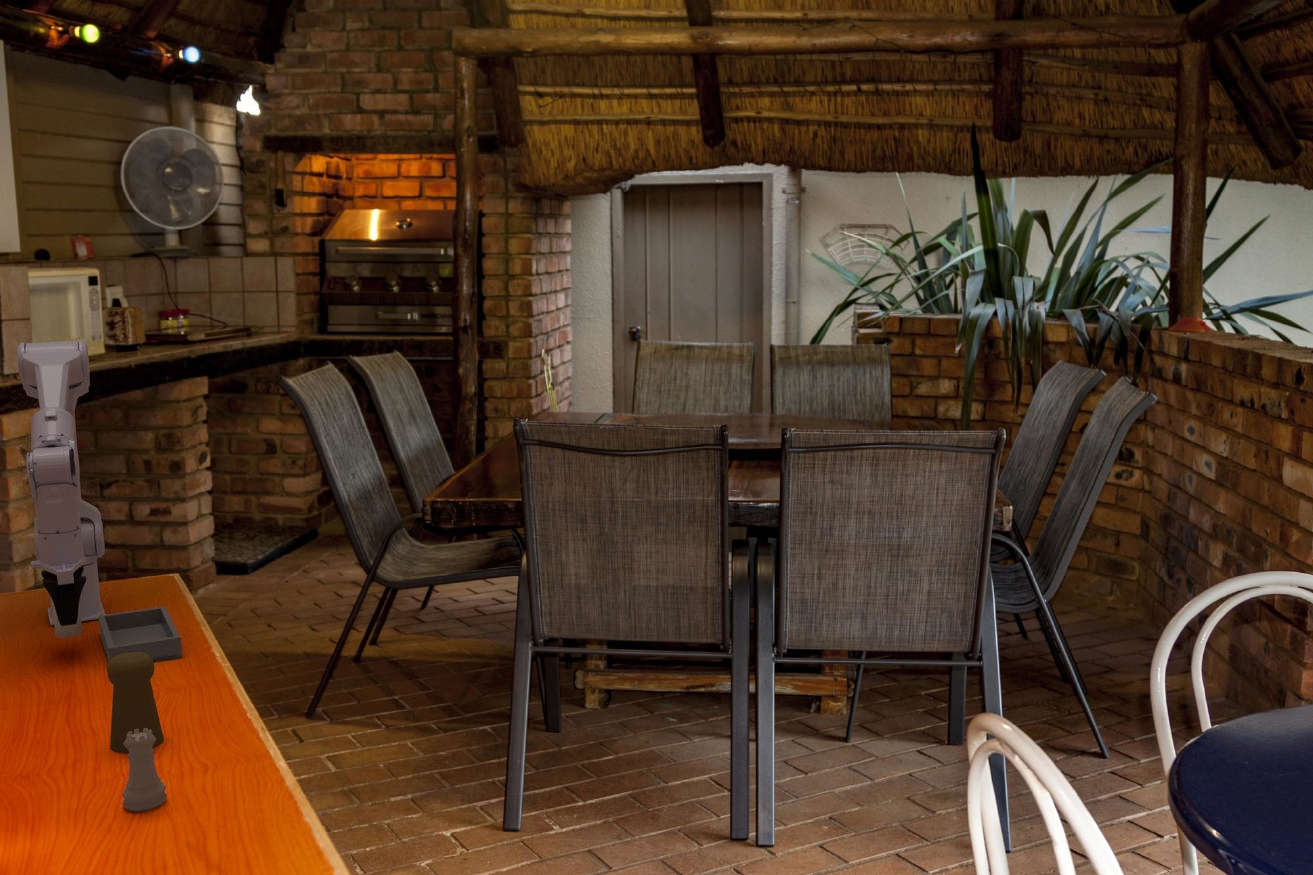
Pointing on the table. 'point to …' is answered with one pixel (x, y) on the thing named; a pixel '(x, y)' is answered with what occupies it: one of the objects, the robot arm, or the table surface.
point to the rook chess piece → (142, 774)
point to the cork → (132, 699)
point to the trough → (140, 634)
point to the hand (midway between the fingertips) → (67, 620)
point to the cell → (67, 626)
